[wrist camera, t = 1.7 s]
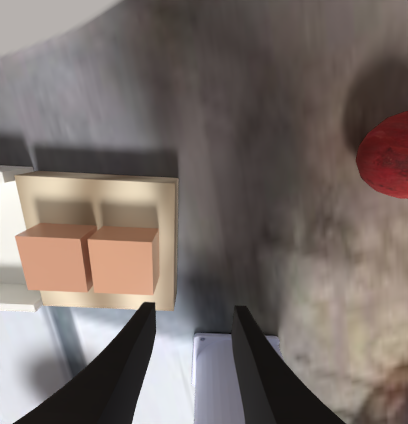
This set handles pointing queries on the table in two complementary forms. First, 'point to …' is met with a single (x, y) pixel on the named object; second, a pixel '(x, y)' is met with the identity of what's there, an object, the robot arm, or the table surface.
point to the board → (107, 223)
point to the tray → (13, 246)
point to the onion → (386, 156)
